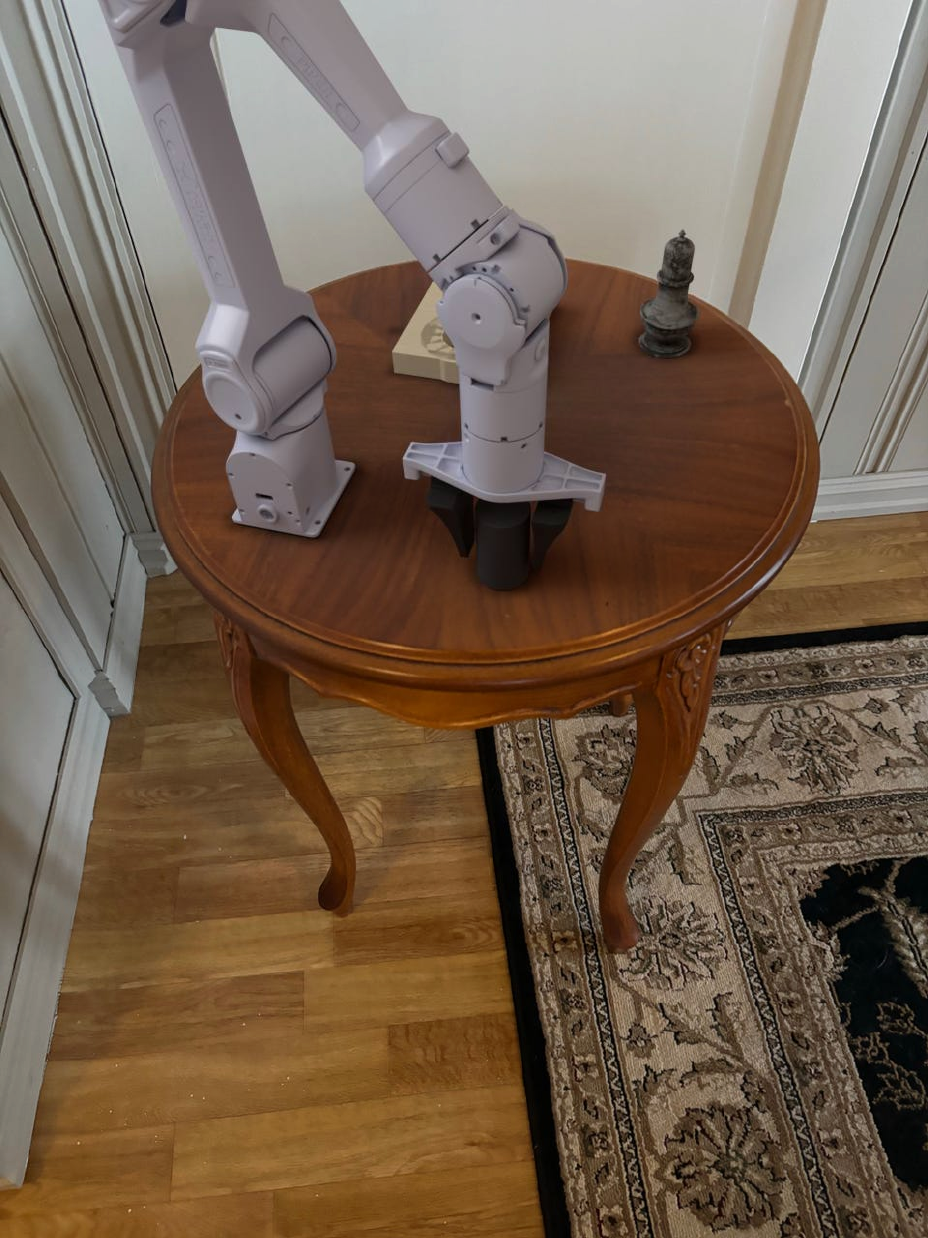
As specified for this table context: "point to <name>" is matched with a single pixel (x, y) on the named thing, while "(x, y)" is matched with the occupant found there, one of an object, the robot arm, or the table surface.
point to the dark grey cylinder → (502, 543)
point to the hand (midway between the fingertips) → (502, 555)
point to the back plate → (427, 344)
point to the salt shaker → (671, 303)
